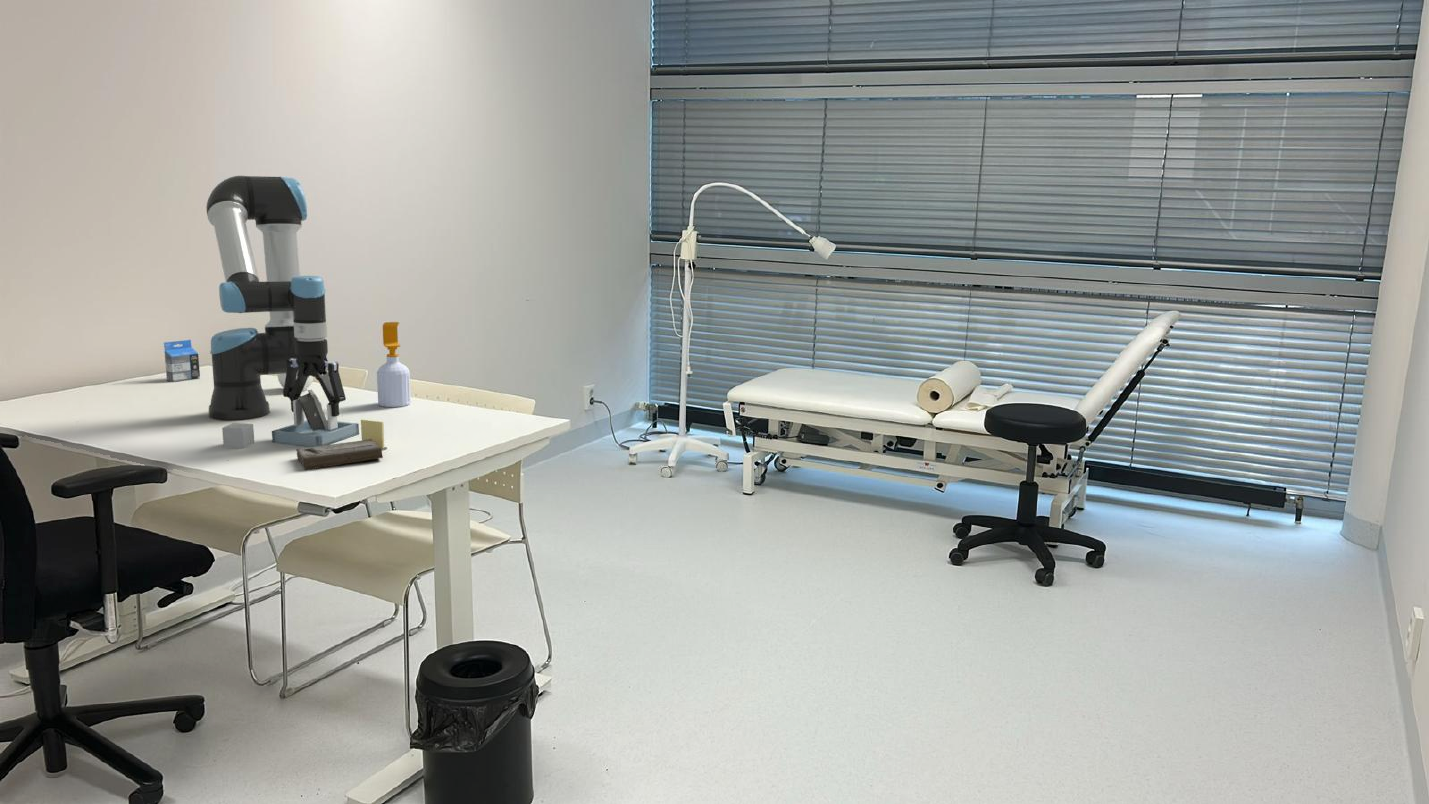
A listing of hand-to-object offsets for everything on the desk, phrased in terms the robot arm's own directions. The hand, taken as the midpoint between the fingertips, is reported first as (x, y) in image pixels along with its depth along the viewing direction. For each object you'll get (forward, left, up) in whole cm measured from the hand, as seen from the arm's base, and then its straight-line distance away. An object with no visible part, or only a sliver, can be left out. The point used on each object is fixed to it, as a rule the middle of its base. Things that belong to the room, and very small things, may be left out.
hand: (316, 426), depth 243 cm
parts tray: (0, 0, -3) cm, 3 cm away
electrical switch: (0, 0, 0) cm, 1 cm away
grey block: (-12, -13, -3) cm, 18 cm away
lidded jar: (-45, +46, -3) cm, 64 cm away
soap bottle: (-6, +41, -3) cm, 42 cm away
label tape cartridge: (-87, +44, -3) cm, 98 cm away
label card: (+19, -3, -3) cm, 19 cm away
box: (+18, -14, -4) cm, 24 cm away
